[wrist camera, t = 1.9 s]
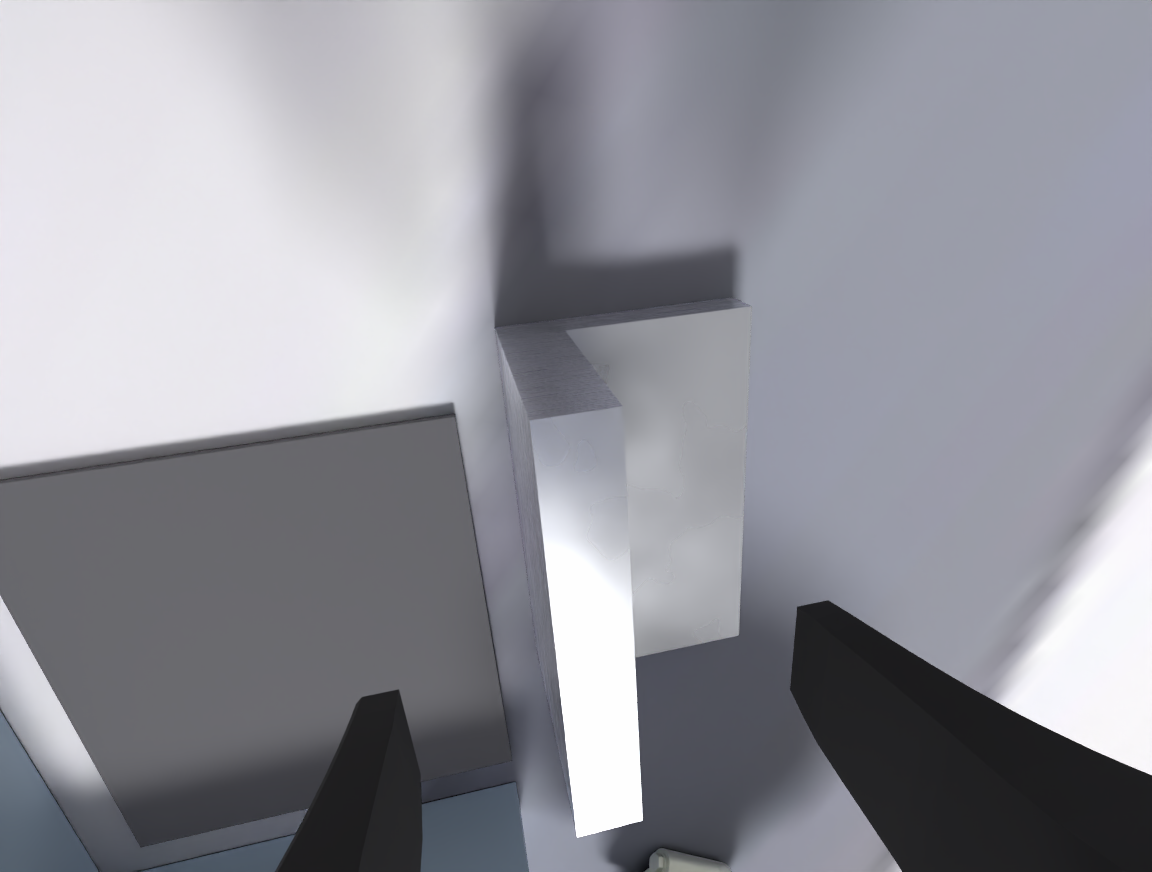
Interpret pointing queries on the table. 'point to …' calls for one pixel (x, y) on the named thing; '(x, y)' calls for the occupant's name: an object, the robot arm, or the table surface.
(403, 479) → the pad
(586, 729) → the angle bracket
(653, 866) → the pneumatic valve
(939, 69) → the table surface
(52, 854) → the corner walls
